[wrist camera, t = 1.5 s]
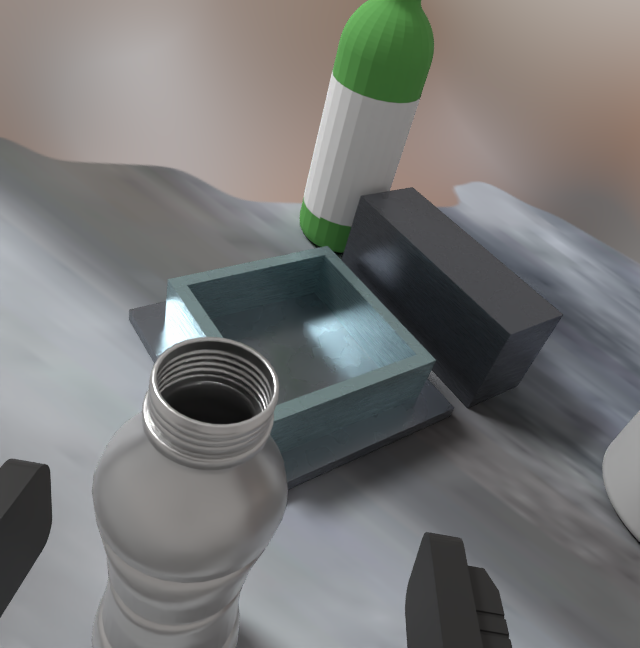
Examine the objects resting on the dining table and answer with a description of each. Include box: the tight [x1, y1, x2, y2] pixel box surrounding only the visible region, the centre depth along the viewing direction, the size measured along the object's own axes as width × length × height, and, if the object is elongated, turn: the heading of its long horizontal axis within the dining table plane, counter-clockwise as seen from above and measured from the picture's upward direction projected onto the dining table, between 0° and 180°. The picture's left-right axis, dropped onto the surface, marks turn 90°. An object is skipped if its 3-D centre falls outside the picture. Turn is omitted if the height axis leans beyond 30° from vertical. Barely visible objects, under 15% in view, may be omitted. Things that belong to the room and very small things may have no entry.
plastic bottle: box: [92, 337, 288, 648], centre depth 24 cm, size 6×7×20 cm
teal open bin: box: [129, 188, 563, 489], centre depth 46 cm, size 26×18×8 cm
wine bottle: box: [300, 0, 434, 253], centre depth 52 cm, size 8×8×30 cm
